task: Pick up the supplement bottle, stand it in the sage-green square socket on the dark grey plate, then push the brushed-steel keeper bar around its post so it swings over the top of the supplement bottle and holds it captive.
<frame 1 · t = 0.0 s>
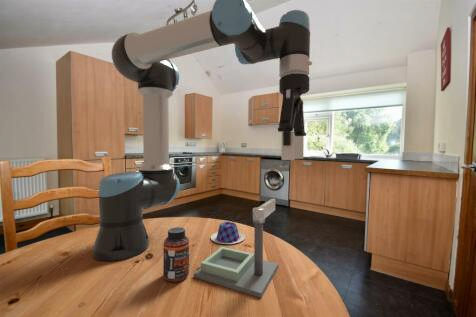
hand: (293, 159, 56), 28 cm above the table, tool pointing down, fingers open, 13 cm apart
supplement bottle: (176, 277, 52), on the table
pudding: (227, 239, 75), on the table
socket base: (239, 272, 54), on the table
keeper: (265, 209, 56), point 15 cm above the table, hinge at 0.0°
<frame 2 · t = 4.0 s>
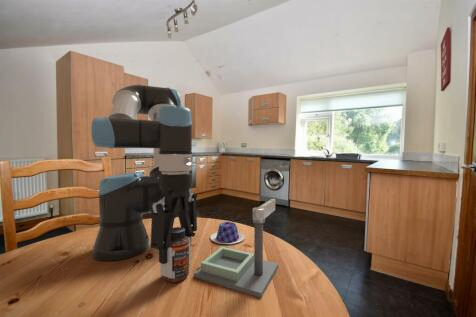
hand: (176, 268, 52), 2 cm above the table, tool pointing down, fingers closed on supplement bottle, 6 cm apart
supplement bottle: (176, 277, 52), on the table, touching gripper
everything else where it was.
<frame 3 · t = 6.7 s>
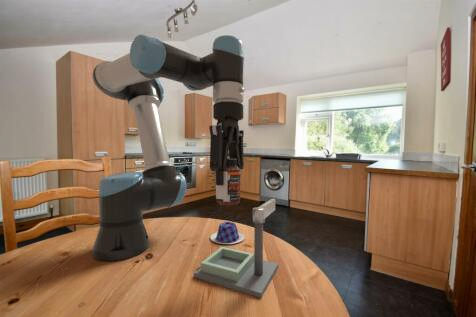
hand: (228, 196, 54), 19 cm above the table, tool pointing down, fingers closed on supplement bottle, 6 cm apart
supplement bottle: (228, 204, 54), point 17 cm above the table, touching gripper
everything else where it was.
when the fingers open (4 cm above the table, at t = 9.7 s): supplement bottle drops 1 cm, resting on socket base.
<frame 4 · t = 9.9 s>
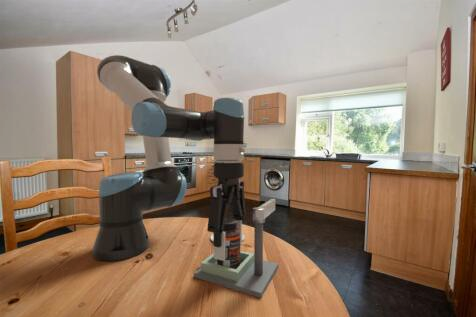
hand: (228, 250, 55), 5 cm above the table, tool pointing down, fingers open, 8 cm apart
supplement bottle: (228, 266, 55), point 1 cm above the table, touching socket base
everything else where it was.
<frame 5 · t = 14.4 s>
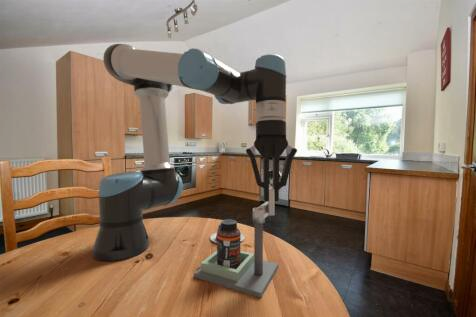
hand: (271, 213, 55), 14 cm above the table, tool pointing down, fingers closed
keeper: (265, 209, 56), point 15 cm above the table, hinge at 1.6°, touching gripper
everything else where it was.
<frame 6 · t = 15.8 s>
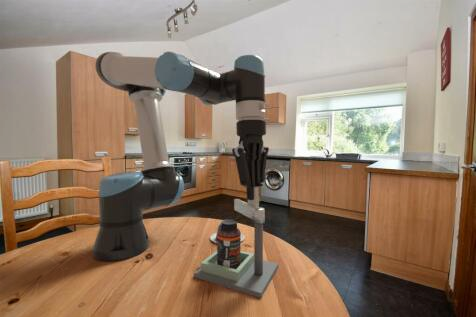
hand: (253, 211, 56), 14 cm above the table, tool pointing down, fingers closed
keeper: (247, 209, 56), point 15 cm above the table, hinge at 52.6°, touching gripper
everything else where it was.
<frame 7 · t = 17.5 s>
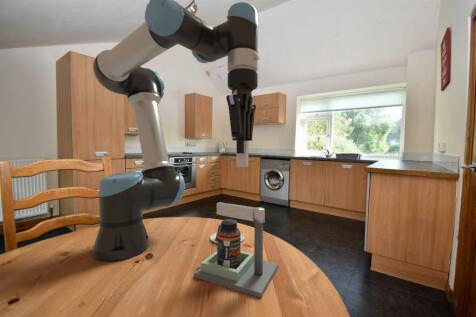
hand: (242, 166, 55), 26 cm above the table, tool pointing down, fingers closed
keeper: (239, 211, 54), point 15 cm above the table, hinge at 83.9°
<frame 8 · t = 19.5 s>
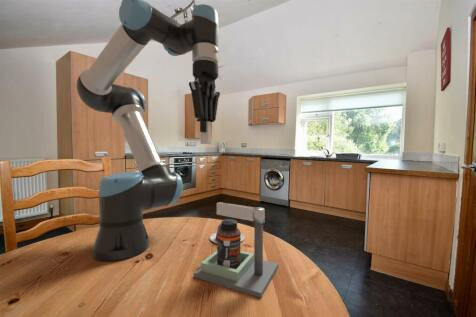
hand: (205, 143, 64), 32 cm above the table, tool pointing down, fingers closed
at the end: supplement bottle 0.1 cm from the target spot on the socket base, point 0.8 cm above the socket base's base; supplement bottle tilted 0°; keeper at +84° (first picture: +0°) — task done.
